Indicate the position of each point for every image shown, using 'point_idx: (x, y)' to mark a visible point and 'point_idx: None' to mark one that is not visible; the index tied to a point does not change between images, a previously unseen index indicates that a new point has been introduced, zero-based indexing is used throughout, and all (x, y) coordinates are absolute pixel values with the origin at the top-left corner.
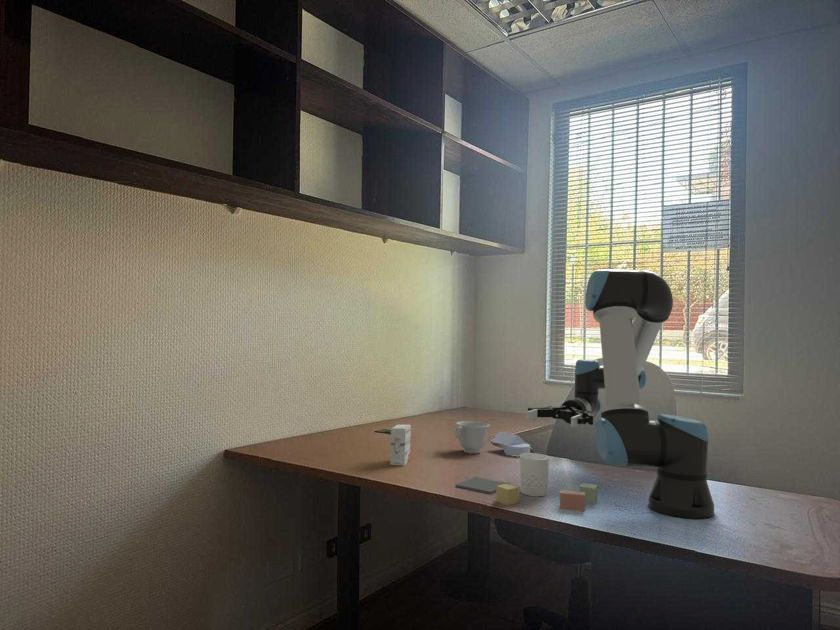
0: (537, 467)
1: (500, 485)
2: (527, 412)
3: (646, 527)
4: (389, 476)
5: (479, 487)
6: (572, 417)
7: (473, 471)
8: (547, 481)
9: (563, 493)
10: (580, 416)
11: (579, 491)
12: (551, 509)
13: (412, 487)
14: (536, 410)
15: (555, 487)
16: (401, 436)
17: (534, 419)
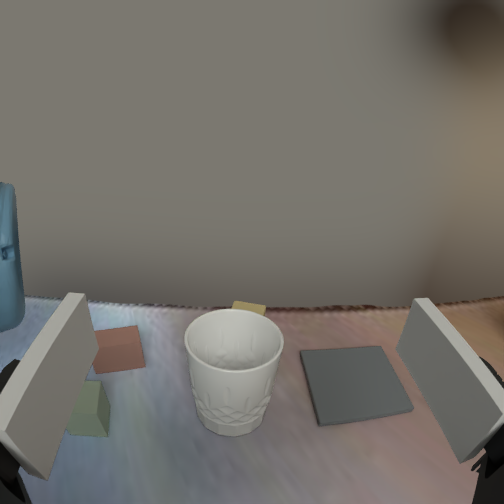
0: (208, 331)
1: (262, 311)
2: (418, 302)
3: (11, 329)
4: (471, 323)
5: (338, 357)
6: (75, 293)
7: None
8: (193, 394)
9: (130, 326)
10: (3, 405)
11: (103, 389)
12: (155, 340)
13: (405, 311)
14: (487, 401)
15: (204, 493)
16: None
17: (474, 466)
